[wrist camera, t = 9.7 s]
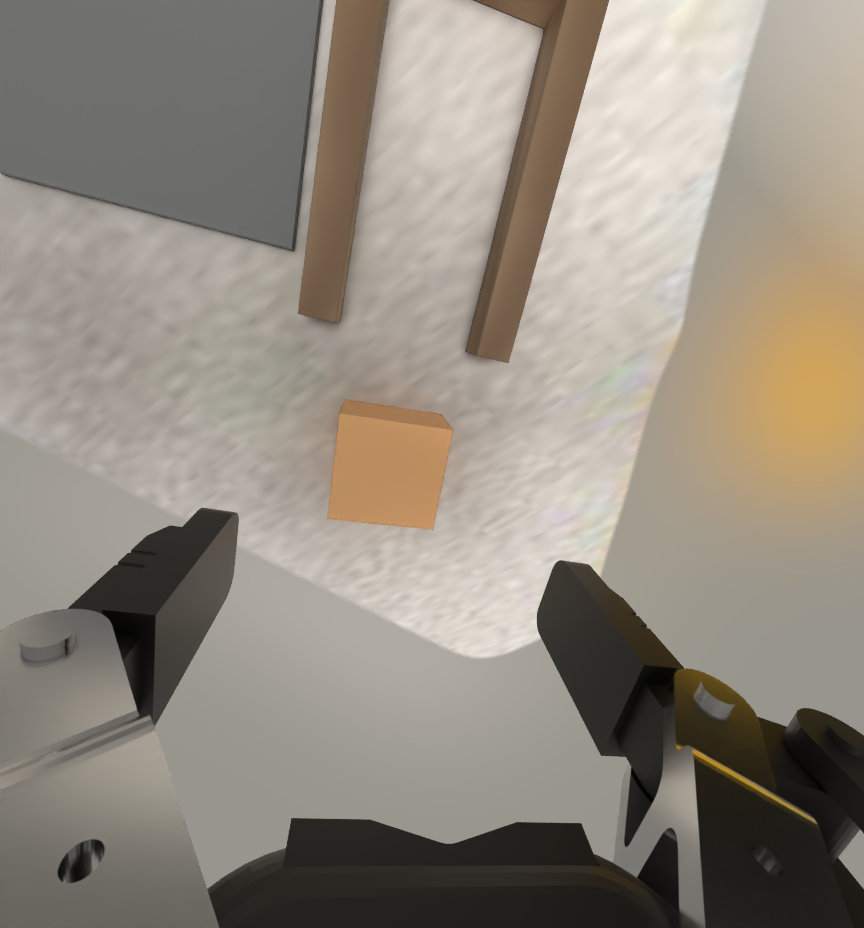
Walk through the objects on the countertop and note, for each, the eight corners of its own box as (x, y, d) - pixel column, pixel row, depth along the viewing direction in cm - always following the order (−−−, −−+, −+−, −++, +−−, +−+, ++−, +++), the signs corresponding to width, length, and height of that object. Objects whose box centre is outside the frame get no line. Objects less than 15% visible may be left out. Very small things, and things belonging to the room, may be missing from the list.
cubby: (307, 314, 19) (297, 313, 17) (361, -104, 15) (358, -183, 12) (493, 358, 21) (508, 363, 18) (589, -4, 17) (624, -57, 14)
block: (334, 489, 22) (327, 518, 19) (345, 398, 21) (339, 413, 17) (424, 500, 23) (433, 529, 20) (441, 413, 22) (453, 430, 18)
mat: (3, 174, 16) (-11, 169, 15) (-27, -228, 13) (-45, -252, 12) (294, 251, 18) (291, 248, 18) (331, -77, 15) (330, -93, 14)
